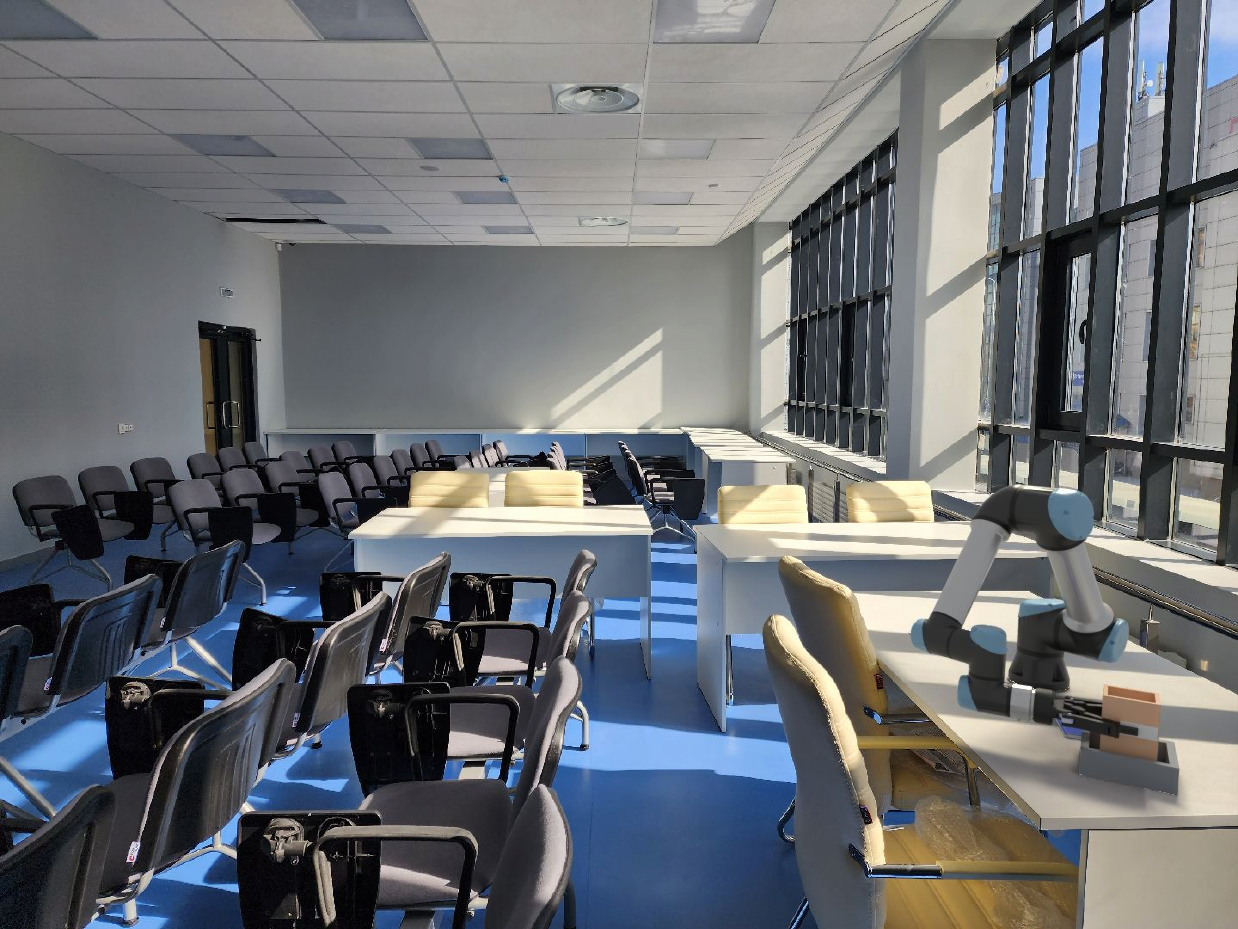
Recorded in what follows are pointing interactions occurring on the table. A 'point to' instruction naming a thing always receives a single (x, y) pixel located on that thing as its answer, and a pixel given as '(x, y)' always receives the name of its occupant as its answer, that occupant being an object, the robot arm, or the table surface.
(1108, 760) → the tray
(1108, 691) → the tall tapered brown container
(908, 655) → the table surface
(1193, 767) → the table surface
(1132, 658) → the table surface
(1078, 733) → the hard drive
